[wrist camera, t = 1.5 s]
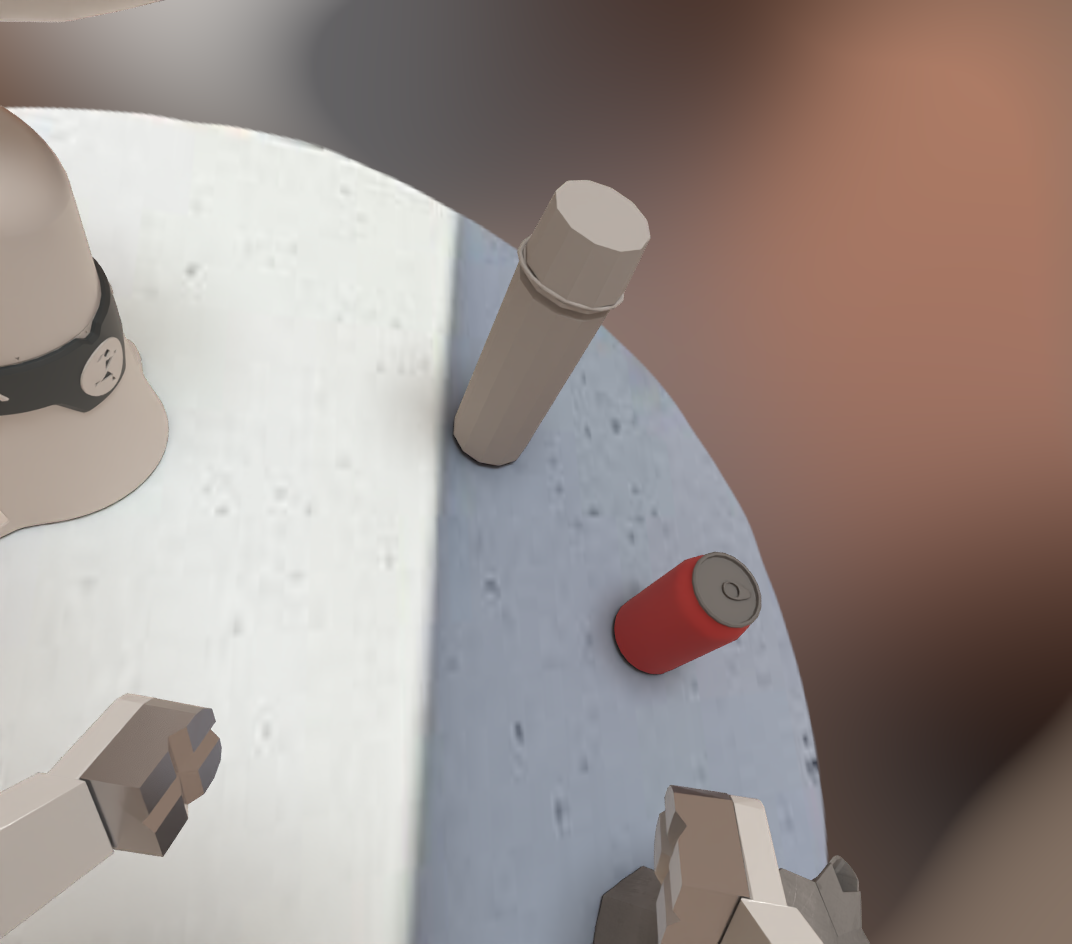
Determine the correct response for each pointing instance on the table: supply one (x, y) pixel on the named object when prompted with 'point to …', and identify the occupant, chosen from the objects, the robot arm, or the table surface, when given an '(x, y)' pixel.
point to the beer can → (688, 613)
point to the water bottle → (549, 316)
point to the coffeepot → (822, 901)
